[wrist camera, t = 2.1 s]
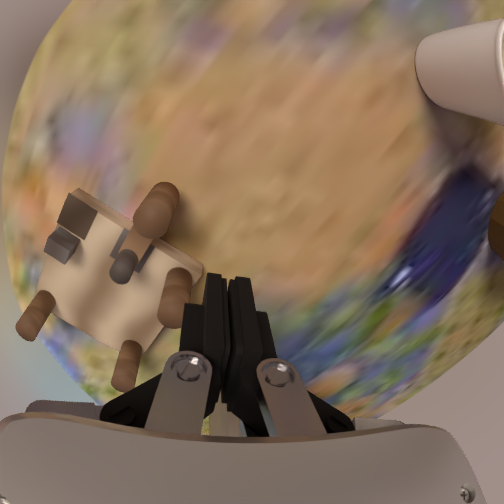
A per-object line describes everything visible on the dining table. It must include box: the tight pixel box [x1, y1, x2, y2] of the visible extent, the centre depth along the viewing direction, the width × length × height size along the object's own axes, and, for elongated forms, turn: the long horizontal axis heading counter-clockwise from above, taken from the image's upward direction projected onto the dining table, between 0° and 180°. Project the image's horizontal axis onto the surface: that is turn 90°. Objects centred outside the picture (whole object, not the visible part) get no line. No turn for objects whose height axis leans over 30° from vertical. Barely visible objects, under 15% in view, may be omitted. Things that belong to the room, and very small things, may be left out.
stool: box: [16, 188, 203, 393], centre depth 25 cm, size 14×14×8 cm
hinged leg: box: [109, 182, 179, 285], centre depth 22 cm, size 8×2×6 cm, turn 143°
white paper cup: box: [415, 18, 504, 126], centre depth 17 cm, size 10×10×12 cm
